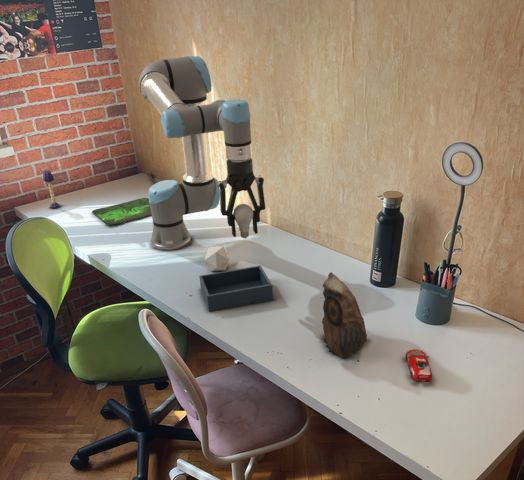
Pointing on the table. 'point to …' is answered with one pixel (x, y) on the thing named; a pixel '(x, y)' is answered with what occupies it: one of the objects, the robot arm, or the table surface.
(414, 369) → the race car
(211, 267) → the die
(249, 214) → the lightbulb
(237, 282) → the tote
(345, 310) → the owl
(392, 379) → the table surface
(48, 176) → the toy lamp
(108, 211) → the mouse mat
